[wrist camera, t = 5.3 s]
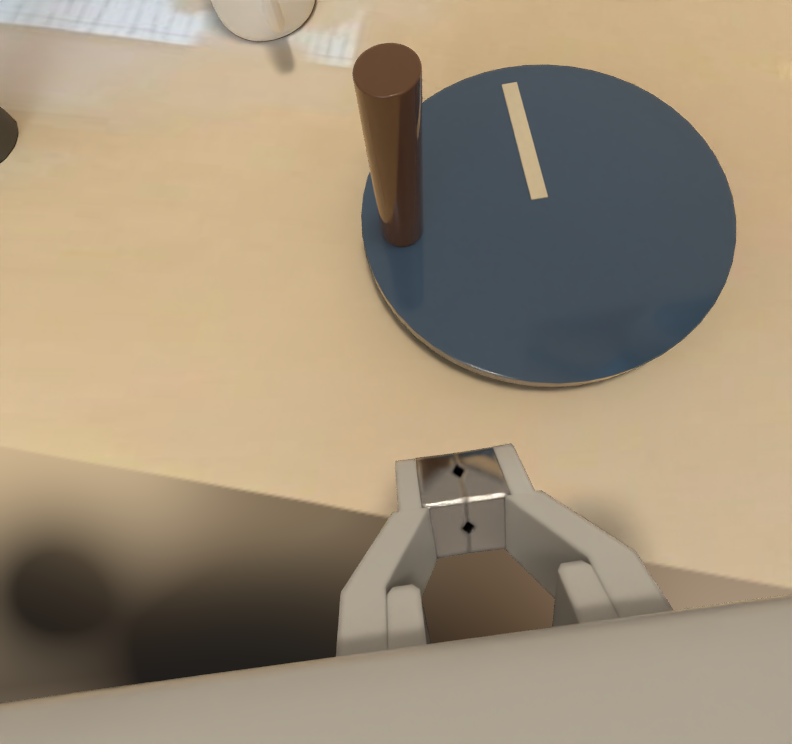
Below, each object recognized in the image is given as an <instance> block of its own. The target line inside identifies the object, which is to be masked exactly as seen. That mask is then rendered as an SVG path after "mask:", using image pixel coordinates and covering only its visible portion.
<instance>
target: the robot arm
mask: <svg viewBox="0 0 792 744" xmlns="http://www.w3.org/2000/svg"><path fill="white" fill-rule="evenodd" d="M415 459H416V462H415ZM415 459H408V460H400V461H396V463H395V472H396V486H397V500H398V512H392V514H391V516H390V517H389V519H388V520H387V522H386V523H385V525H384V527H383V528H382V529H381V531H380V532H379V534H378V536H377V537H376V539H375V540H374V542H373V543H372V545H371V546H370V548H369V549H368V551H367V553H366V554H365V556H364V557H363V559H362V560H361V562H360V563H359V565H358V566H357V568H356V570H355V571H354V573H353V574H352V576H351V577H350V579H349V580H348V582H347V583H346V585H345V587H344V588H343V590H342V591H341V596H340V609H339V622H338V636H337V650H336V657H332V658H325V659H317V660H310V661H302V662H295V663H288V664H280V665H273V666H266V667H258V668H251V669H244V670H236V671H229V672H222V673H215V674H208V675H200V676H193V677H186V678H178V679H171V680H163V681H156V682H149V683H141V684H134V685H127V686H119V687H112V688H105V689H98V690H91V691H84V692H76V693H68V694H61V695H53V696H46V697H39V698H31V699H24V700H17V701H10V702H2V703H0V744H792V594H789V595H782V596H775V597H767V598H761V599H753V600H745V601H739V602H731V603H724V604H717V605H710V606H702V607H695V608H687V609H680V610H673V609H672V607H671V606H670V604H669V602H668V601H667V599H666V598H665V596H664V595H663V593H662V592H661V590H660V588H659V587H658V585H657V584H656V582H655V581H654V579H653V578H652V576H651V575H650V573H649V572H648V570H647V568H646V567H645V565H644V564H643V562H642V561H641V559H640V557H639V556H638V554H637V553H636V551H634V550H633V549H631V548H630V547H628V546H627V545H625V544H623V543H622V542H620V541H619V540H617V539H616V538H614V537H613V536H611V535H610V534H608V533H606V532H605V531H603V530H602V529H600V528H599V527H597V526H596V525H594V524H593V523H591V522H589V521H588V520H586V519H585V518H583V517H582V516H580V515H579V514H577V513H575V512H574V511H572V510H571V509H569V508H568V507H566V506H565V505H563V504H562V503H560V502H558V501H557V500H555V499H554V498H552V497H551V496H549V495H548V494H546V493H545V492H543V491H535V490H534V488H533V485H532V483H531V481H530V479H529V477H528V475H527V473H526V471H525V469H524V467H523V464H522V462H521V460H520V458H519V456H518V454H517V452H516V450H515V448H514V446H513V445H512V444H505V445H499V446H493V447H489V448H482V449H476V450H470V451H464V452H457V453H452V454H444V455H436V456H428V457H420V458H415ZM498 549H506V551H507V552H508V553H509V554H511V556H512V557H513V558H514V559H515V560H516V561H517V562H518V563H519V564H520V565H521V566H522V567H523V568H524V569H525V570H526V571H527V572H528V573H529V574H530V575H531V576H533V578H535V580H536V581H538V582H539V583H540V585H541V586H543V587H544V588H545V589H546V590H547V591H548V592H549V593H550V594H551V595H552V596H553V597H554V598H555V605H554V615H553V625H552V627H549V628H542V629H535V630H528V631H520V632H513V633H506V634H499V635H491V636H484V637H477V638H470V639H462V640H455V641H448V642H441V643H433V644H431V642H430V637H429V632H428V627H427V622H426V617H425V612H424V607H423V603H422V597H423V594H424V591H425V589H426V587H427V584H428V582H429V579H430V577H431V574H432V572H433V569H434V567H435V564H436V562H437V558H442V557H448V556H454V555H460V554H466V553H472V552H481V551H489V550H498Z"/></svg>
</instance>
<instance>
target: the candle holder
mask: <svg viewBox="0 0 792 744" xmlns="http://www.w3.org/2000/svg"><path fill="white" fill-rule="evenodd" d="M17 135H18V129H17V124H16V121H15V120H14V119H13V118H12V117H11V116H10V115H9V114H8V113H7V112H6V111H5V110H4V109H2V108H1V107H0V162H1V161H2V160H4V159H5V158H6V157H7V155H8V154H9V153H10V151H11V150H12V149H13V147H14V146H15V142H16V139H17Z"/></svg>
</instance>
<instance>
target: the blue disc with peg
mask: <svg viewBox="0 0 792 744" xmlns="http://www.w3.org/2000/svg"><path fill="white" fill-rule="evenodd" d="M353 81H354V86H355V92H356V97H357V103H358V108H359V113H360V119H361V124H362V130H363V135H364V140H365V146H366V151H367V157H368V162H369V167H370V173H369V175H368V178H367V182H366V187H365V191H364V195H363V203H362V214H361V219H362V236H363V241H364V246H365V251H366V256H367V259H368V263H369V266H370V269H371V271H372V274H373V277H374V280H375V282H376V284H377V286H378V288H379V290H380V292H381V294H382V296H383V297H384V299H385V301H386V303H387V304H388V305H389V307H390V308H391V310H392V311H393V312H394V314H395V315H396V316H397V318H398V319H399V320H400V321H401V322H402V323H403V324H404V325H405V326H406V328H407V329H408V330H409V331H410V332H411V333H412V334H413V335H414V336H415V337H417V338H418V339H419V340H420V341H422V342H423V343H424V344H425V345H427V346H428V347H429V348H430V349H432V350H433V351H434V352H436V353H438V354H439V355H441V356H443V357H444V358H446V359H448V360H449V361H451V362H453V363H454V364H456V365H459V366H461V367H463V368H465V369H468V370H470V371H472V372H475V373H477V374H480V375H483V376H486V377H490V378H493V379H496V380H500V381H503V382H509V383H515V384H521V385H527V386H544V387H560V386H573V385H583V384H587V383H592V382H597V381H602V380H606V379H609V378H612V377H615V376H618V375H620V374H623V373H626V372H629V371H631V370H633V369H635V368H637V367H639V366H641V365H643V364H645V363H647V362H649V361H651V360H653V359H655V358H657V357H659V356H661V355H662V354H664V353H665V352H667V351H668V350H669V349H671V348H672V347H674V346H675V345H676V344H678V343H679V342H681V341H682V340H683V339H684V338H685V337H686V336H687V335H688V334H689V333H690V332H691V331H692V330H693V329H695V328H696V327H697V326H698V325H699V324H700V323H701V321H702V320H703V319H704V317H705V316H706V315H707V313H708V312H709V311H710V309H711V308H712V307H713V305H714V304H715V302H716V300H717V298H718V296H719V295H720V293H721V291H722V289H723V287H724V285H725V283H726V280H727V277H728V274H729V271H730V268H731V265H732V262H733V256H734V250H735V244H736V215H735V209H734V203H733V197H732V194H731V191H730V188H729V185H728V182H727V179H726V176H725V174H724V172H723V170H722V168H721V166H720V164H719V162H718V160H717V158H716V156H715V155H714V153H713V152H712V150H711V149H710V147H709V146H708V144H707V143H706V141H705V140H704V139H703V137H702V136H701V135H700V134H699V133H698V132H697V131H696V130H695V129H694V127H693V126H692V125H691V124H690V123H689V122H688V121H687V120H686V119H685V118H683V117H682V116H681V115H680V114H679V113H678V112H676V111H675V110H674V109H673V108H672V107H670V106H669V105H667V104H666V103H664V102H663V101H662V100H660V99H659V98H657V97H656V96H654V95H653V94H651V93H649V92H647V91H645V90H643V89H641V88H639V87H637V86H636V85H634V84H631V83H629V82H626V81H624V80H621V79H619V78H616V77H614V76H610V75H607V74H603V73H600V72H596V71H593V70H588V69H582V68H576V67H571V66H559V65H523V66H515V67H507V68H502V69H497V70H493V71H489V72H484V73H481V74H478V75H475V76H472V77H469V78H466V79H464V80H461V81H459V82H457V83H455V84H453V85H451V86H449V87H446V88H444V89H443V90H441V91H439V92H438V93H436V94H435V95H433V96H431V97H430V98H428V99H427V100H425V101H424V102H423V103H422V65H421V61H420V59H419V57H418V55H417V54H416V53H415V52H414V51H413V50H412V49H410V48H409V47H407V46H404V45H401V44H397V43H384V44H379V45H376V46H373V47H371V48H369V49H367V50H366V51H365V52H363V53H362V54H361V55H360V56H359V57H358V59H357V60H356V62H355V64H354V68H353Z"/></svg>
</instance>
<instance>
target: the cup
mask: <svg viewBox="0 0 792 744" xmlns="http://www.w3.org/2000/svg"><path fill="white" fill-rule="evenodd" d="M211 3H212V5H213V7H214V9H215V11H216V13H217V15H218V16H219V18H220V20H221V21H222V23H223V24H224V25H225V26H226V27H227V28H228V29H229V30H230V31H231V32H232V33H234V34H235V35H237V36H239V37H241V38H244V39H247V40H251V41H269V40H274V39H278V38H281V37H284V36H286V35H288V34H290V33H292V32H293V31H295V30H296V29H298V28H299V27H300V26H301V25H302V24H303V23H304V22H305V21H306V20H307V19H308V17H309V16H310V14H311V12H312V10H313V6H314V3H315V0H211Z"/></svg>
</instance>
